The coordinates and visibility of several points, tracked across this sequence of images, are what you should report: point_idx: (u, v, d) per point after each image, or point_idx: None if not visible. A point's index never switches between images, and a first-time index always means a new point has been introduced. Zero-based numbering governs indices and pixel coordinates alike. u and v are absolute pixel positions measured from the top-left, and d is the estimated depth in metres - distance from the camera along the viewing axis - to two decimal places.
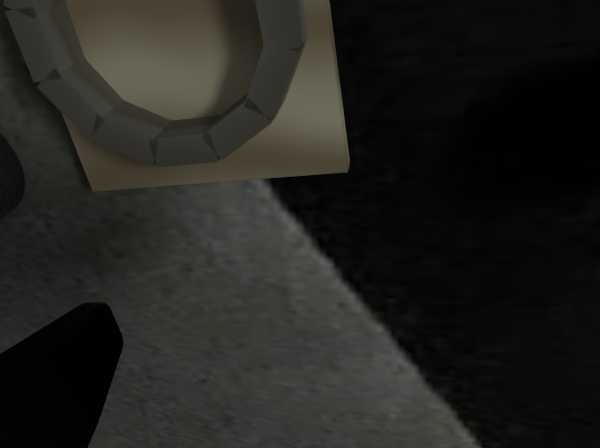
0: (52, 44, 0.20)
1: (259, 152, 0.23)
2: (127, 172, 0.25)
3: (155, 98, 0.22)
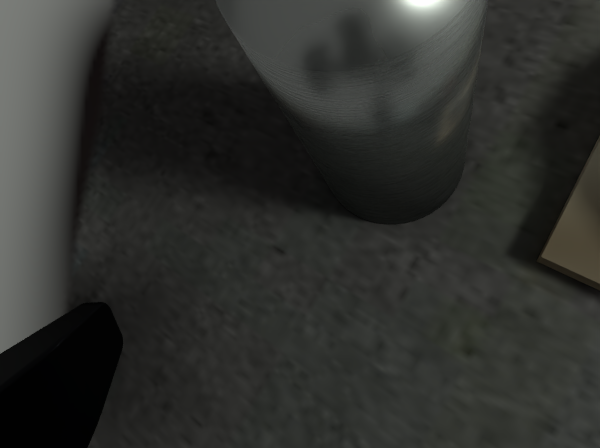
0: None
1: None
2: None
3: None
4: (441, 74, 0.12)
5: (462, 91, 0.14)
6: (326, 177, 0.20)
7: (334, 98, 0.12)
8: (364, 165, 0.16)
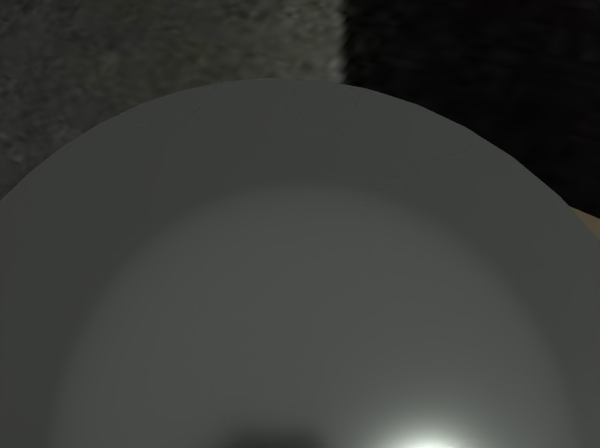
0: None
1: None
2: None
3: None
4: None
5: None
6: None
7: None
8: None
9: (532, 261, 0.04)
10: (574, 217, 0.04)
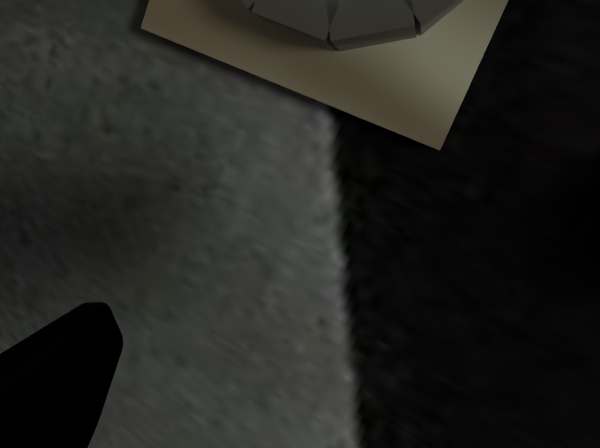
0: None
1: (357, 78, 0.19)
2: (195, 26, 0.20)
3: None
4: None
5: None
6: None
7: None
8: None
9: None
10: None
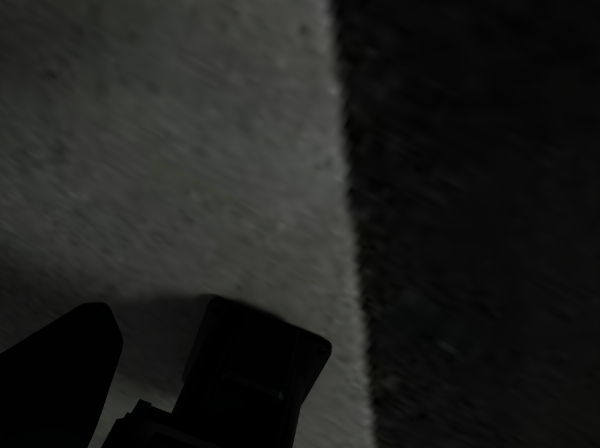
0: None
1: None
2: None
3: None
4: None
5: None
6: None
7: None
8: None
9: None
10: None
